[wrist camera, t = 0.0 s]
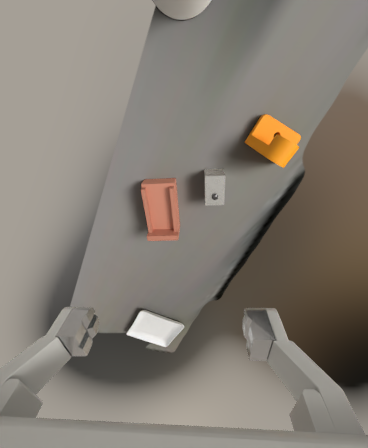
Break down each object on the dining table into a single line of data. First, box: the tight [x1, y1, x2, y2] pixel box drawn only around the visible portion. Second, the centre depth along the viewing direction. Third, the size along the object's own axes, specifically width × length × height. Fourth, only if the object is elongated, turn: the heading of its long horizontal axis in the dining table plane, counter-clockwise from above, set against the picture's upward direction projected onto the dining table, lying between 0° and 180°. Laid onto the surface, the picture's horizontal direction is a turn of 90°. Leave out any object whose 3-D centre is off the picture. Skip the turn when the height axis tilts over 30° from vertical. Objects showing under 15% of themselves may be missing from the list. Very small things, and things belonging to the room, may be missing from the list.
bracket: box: [245, 114, 301, 168], centre depth 45 cm, size 11×7×12 cm, turn 63°
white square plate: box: [127, 310, 184, 347], centre depth 93 cm, size 21×21×3 cm
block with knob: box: [204, 169, 225, 205], centre depth 54 cm, size 8×5×6 cm, turn 4°
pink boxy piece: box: [141, 178, 180, 241], centre depth 58 cm, size 16×9×8 cm, turn 4°
